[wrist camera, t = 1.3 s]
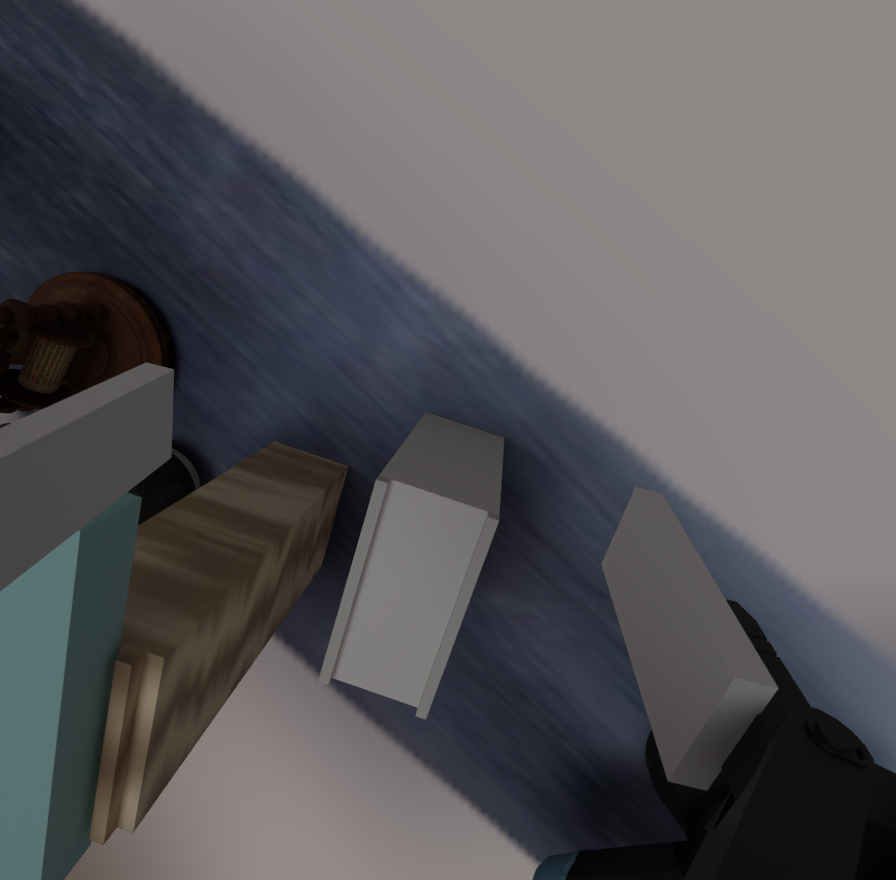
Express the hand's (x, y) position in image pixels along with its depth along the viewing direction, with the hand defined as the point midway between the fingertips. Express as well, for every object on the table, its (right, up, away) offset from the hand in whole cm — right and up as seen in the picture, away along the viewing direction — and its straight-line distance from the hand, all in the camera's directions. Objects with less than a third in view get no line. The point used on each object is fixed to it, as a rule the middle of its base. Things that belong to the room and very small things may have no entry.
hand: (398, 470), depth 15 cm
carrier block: (+1, -5, +39) cm, 40 cm away
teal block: (-17, -11, +12) cm, 23 cm away
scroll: (-33, +10, +39) cm, 52 cm away
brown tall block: (-14, -6, +41) cm, 44 cm away
